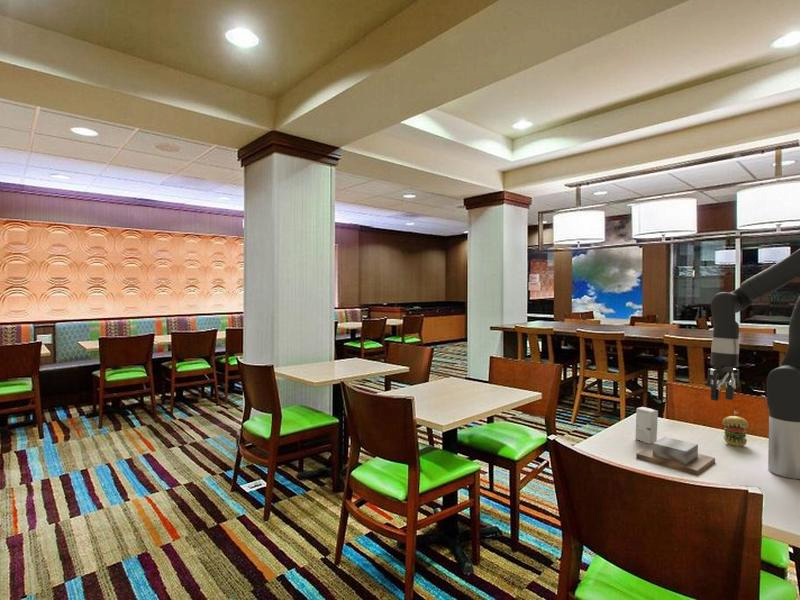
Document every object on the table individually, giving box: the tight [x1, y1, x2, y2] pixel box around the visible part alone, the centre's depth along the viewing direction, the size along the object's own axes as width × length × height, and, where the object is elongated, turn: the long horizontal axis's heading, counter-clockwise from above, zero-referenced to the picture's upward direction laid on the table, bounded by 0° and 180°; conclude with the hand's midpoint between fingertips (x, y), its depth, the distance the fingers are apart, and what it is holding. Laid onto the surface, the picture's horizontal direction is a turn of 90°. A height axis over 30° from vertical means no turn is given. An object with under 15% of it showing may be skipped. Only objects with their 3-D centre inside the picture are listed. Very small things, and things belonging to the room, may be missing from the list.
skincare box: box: [634, 406, 659, 445], centre depth 166 cm, size 6×4×12 cm
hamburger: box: [722, 410, 749, 447], centre depth 162 cm, size 8×7×12 cm
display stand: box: [636, 436, 716, 476], centre depth 148 cm, size 18×16×6 cm
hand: (722, 399), depth 149 cm, fingers open, 8 cm apart
